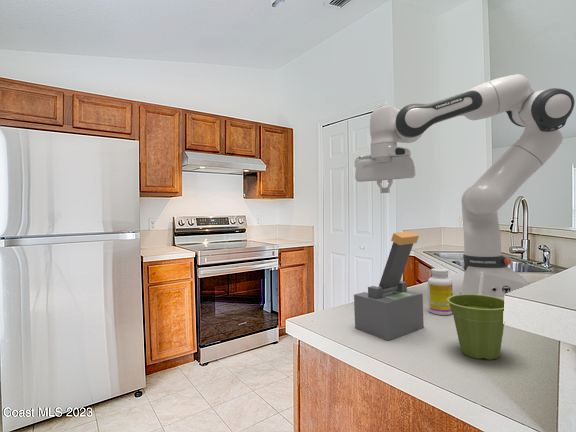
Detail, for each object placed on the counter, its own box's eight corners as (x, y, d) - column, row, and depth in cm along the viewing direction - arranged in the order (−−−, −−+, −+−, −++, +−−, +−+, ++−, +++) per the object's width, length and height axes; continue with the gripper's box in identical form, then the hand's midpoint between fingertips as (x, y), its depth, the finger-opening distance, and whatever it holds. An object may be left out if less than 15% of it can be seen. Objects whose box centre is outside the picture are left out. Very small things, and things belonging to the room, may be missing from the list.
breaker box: (355, 328, 87) (353, 285, 87) (389, 317, 95) (388, 277, 95) (388, 340, 78) (386, 292, 78) (423, 327, 86) (422, 283, 85)
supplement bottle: (456, 316, 94) (454, 271, 93) (431, 315, 95) (430, 271, 95) (449, 309, 100) (448, 267, 100) (426, 308, 102) (425, 267, 101)
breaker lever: (374, 290, 86) (393, 233, 80) (391, 286, 89) (410, 231, 84) (381, 296, 84) (401, 237, 78) (398, 292, 87) (419, 235, 82)
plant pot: (455, 338, 78) (453, 291, 78) (515, 350, 71) (513, 298, 70) (441, 356, 69) (440, 303, 69) (509, 372, 62) (507, 312, 61)
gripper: (352, 155, 116) (353, 194, 116) (413, 148, 107) (414, 190, 107) (356, 157, 122) (357, 194, 122) (415, 151, 113) (416, 191, 113)
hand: (385, 192), depth 115 cm, fingers closed
